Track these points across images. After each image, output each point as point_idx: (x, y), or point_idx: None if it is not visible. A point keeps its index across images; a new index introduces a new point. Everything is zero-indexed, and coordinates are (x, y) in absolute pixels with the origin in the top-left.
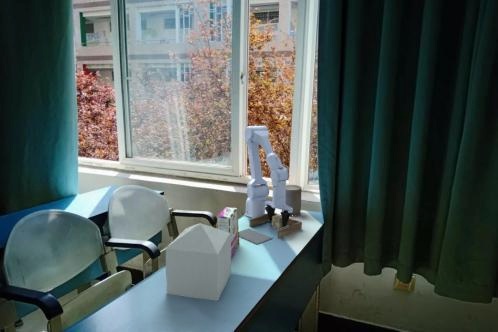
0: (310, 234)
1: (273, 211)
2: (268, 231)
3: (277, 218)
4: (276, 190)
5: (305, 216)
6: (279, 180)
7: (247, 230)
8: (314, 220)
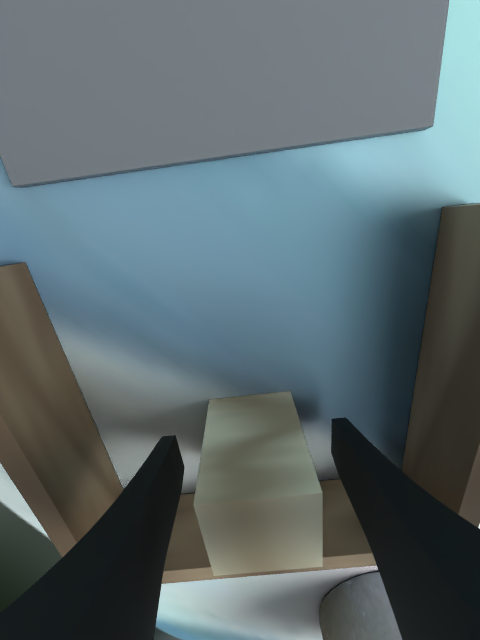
0: (8, 501)
1: (394, 589)
2: (219, 291)
3: (224, 495)
4: None
5: (281, 621)
6: None
7: (392, 44)
8: (203, 619)
